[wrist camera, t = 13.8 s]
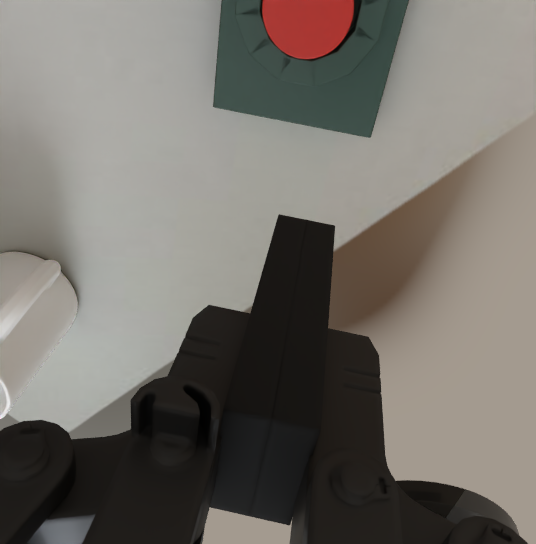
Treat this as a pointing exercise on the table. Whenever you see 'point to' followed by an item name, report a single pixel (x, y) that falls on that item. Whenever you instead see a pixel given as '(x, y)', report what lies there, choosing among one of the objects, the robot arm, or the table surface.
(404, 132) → the table surface
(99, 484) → the robot arm
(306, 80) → the box
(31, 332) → the mug
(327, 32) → the ignition button
